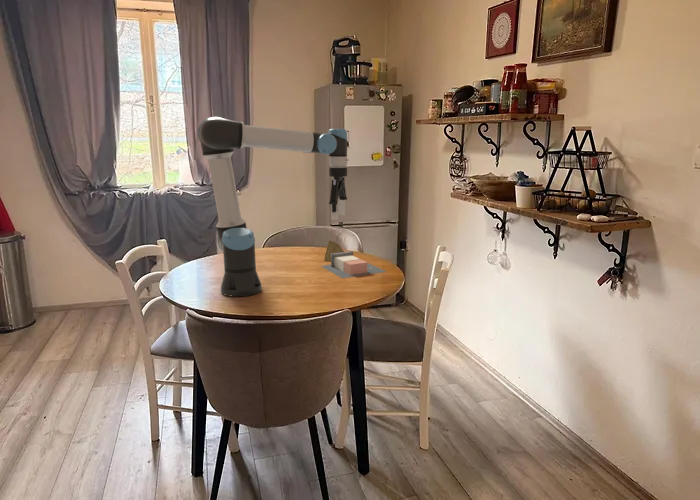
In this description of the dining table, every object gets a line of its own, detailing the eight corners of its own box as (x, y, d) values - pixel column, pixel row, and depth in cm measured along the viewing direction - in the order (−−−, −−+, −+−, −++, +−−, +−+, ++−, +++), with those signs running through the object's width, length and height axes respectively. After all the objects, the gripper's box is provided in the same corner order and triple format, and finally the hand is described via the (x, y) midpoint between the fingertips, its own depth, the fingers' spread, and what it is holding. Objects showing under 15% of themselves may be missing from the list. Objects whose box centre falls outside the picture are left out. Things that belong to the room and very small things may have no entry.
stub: (350, 275, 208) (350, 264, 207) (344, 272, 213) (344, 261, 212) (367, 272, 211) (367, 262, 210) (361, 269, 216) (361, 259, 215)
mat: (342, 280, 204) (342, 278, 203) (320, 268, 223) (320, 265, 222) (386, 273, 213) (386, 271, 213) (362, 262, 232) (362, 260, 232)
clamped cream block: (340, 271, 213) (340, 258, 212) (329, 265, 223) (328, 253, 222) (362, 268, 218) (362, 256, 216) (350, 262, 228) (350, 250, 227)
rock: (351, 254, 238) (331, 250, 240) (349, 243, 231) (329, 238, 234) (343, 272, 231) (323, 267, 234) (341, 261, 225) (321, 256, 228)
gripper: (340, 168, 195) (340, 222, 200) (352, 165, 219) (352, 213, 224) (321, 168, 197) (322, 221, 202) (336, 165, 221) (336, 212, 226)
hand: (338, 217), depth 213 cm, fingers open, 13 cm apart
